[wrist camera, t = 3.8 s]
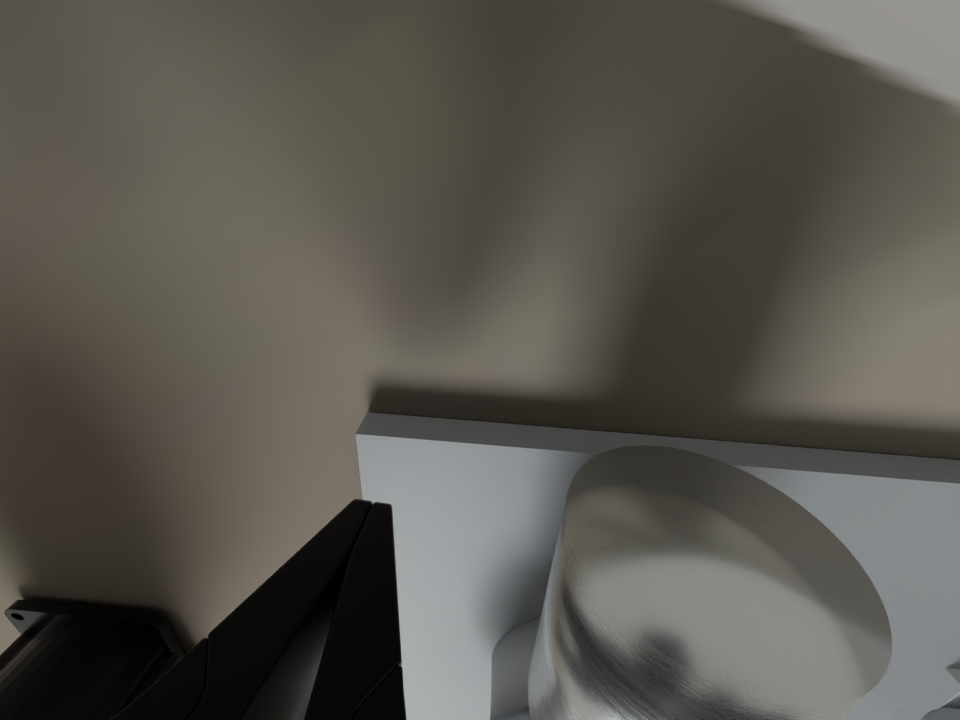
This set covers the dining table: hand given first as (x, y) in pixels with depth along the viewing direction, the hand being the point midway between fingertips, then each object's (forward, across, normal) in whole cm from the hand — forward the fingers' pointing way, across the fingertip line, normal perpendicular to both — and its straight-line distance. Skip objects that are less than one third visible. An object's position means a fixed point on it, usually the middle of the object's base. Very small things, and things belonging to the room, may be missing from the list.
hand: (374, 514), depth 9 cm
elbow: (+2, -7, +6) cm, 9 cm away
